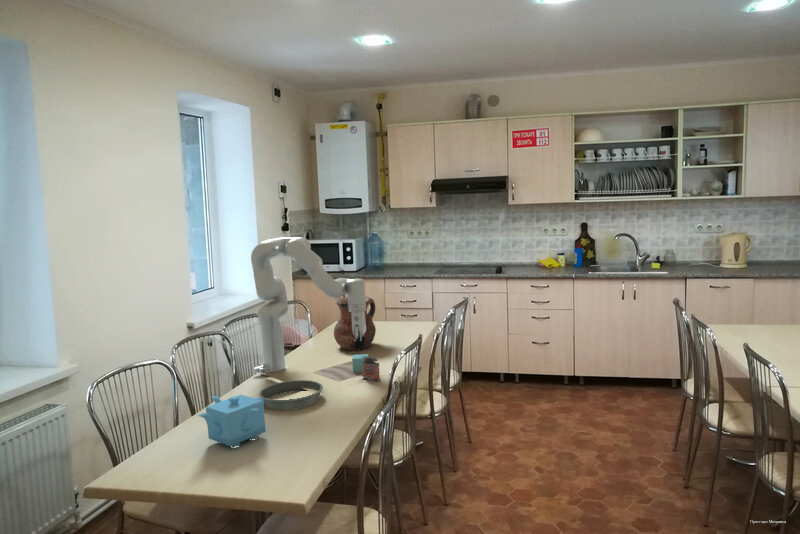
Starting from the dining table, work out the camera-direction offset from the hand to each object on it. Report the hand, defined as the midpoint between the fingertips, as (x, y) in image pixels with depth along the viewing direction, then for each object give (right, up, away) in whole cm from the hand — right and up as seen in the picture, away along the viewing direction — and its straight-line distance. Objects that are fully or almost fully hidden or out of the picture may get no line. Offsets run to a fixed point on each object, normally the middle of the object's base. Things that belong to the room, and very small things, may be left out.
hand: (359, 347), depth 267 cm
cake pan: (-25, -17, -28) cm, 41 cm away
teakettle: (-37, -22, -66) cm, 78 cm away
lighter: (+5, -13, -9) cm, 17 cm away
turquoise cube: (0, -10, +1) cm, 10 cm away
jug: (-5, -6, +47) cm, 48 cm away
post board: (-6, -12, +2) cm, 13 cm away
